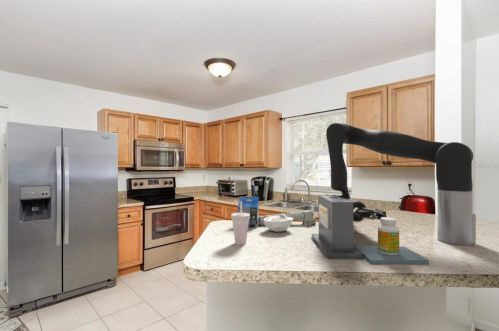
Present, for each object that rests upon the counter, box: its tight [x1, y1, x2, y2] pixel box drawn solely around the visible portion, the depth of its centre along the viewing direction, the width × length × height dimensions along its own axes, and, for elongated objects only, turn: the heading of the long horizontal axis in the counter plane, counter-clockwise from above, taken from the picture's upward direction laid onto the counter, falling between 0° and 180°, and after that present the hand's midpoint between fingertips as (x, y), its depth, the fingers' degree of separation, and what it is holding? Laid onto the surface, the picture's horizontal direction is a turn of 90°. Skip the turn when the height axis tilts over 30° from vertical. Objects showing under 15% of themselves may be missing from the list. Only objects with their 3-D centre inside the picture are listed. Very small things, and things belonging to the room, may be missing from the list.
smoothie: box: [230, 200, 250, 246], centre depth 86 cm, size 6×6×14 cm
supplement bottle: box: [377, 216, 400, 255], centre depth 73 cm, size 5×5×10 cm
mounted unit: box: [311, 194, 364, 260], centre depth 81 cm, size 10×20×16 cm, turn 179°
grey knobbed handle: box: [259, 209, 317, 226], centre depth 112 cm, size 5×7×25 cm
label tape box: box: [236, 196, 260, 228], centre depth 110 cm, size 9×4×12 cm, turn 77°
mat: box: [354, 245, 430, 265], centre depth 73 cm, size 15×11×1 cm
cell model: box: [264, 212, 294, 233], centre depth 102 cm, size 10×12×7 cm
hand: (371, 218), depth 84 cm, fingers open, 8 cm apart
